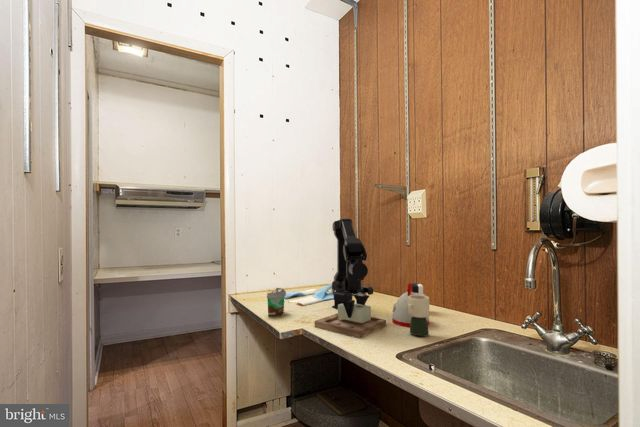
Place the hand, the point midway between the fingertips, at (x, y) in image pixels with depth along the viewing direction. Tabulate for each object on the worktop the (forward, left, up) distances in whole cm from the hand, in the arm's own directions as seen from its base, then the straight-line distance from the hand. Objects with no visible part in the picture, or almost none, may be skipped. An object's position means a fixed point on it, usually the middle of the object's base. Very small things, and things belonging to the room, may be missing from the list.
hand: (354, 315), depth 130 cm
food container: (+7, -34, -4) cm, 35 cm away
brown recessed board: (+2, 0, -3) cm, 4 cm away
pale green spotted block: (0, 0, -1) cm, 1 cm away
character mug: (-5, +24, -4) cm, 25 cm away
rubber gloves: (-27, -47, -4) cm, 54 cm away
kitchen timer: (-17, +15, -4) cm, 23 cm away
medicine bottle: (-33, +10, -4) cm, 34 cm away
